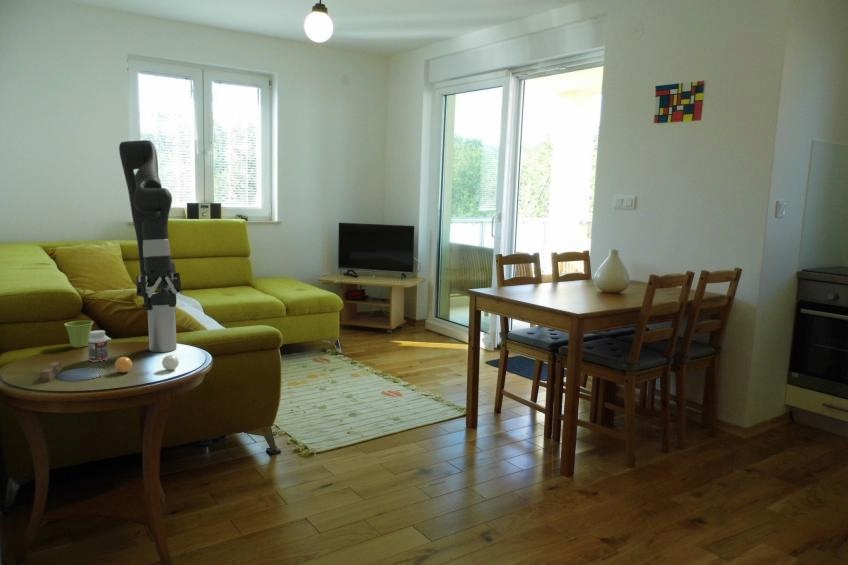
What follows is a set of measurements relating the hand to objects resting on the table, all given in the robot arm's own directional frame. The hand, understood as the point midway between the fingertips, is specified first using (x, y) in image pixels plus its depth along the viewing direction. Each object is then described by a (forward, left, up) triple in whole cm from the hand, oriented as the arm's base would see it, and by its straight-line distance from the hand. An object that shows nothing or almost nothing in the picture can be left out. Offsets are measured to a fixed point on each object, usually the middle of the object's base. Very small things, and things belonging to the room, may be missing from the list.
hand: (161, 308), depth 187 cm
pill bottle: (-29, -24, -23) cm, 44 cm away
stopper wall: (-12, -34, -23) cm, 42 cm away
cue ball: (-12, +1, -20) cm, 23 cm away
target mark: (-12, -25, -23) cm, 36 cm away
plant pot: (-51, -35, -23) cm, 66 cm away
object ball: (-12, -13, -20) cm, 27 cm away
